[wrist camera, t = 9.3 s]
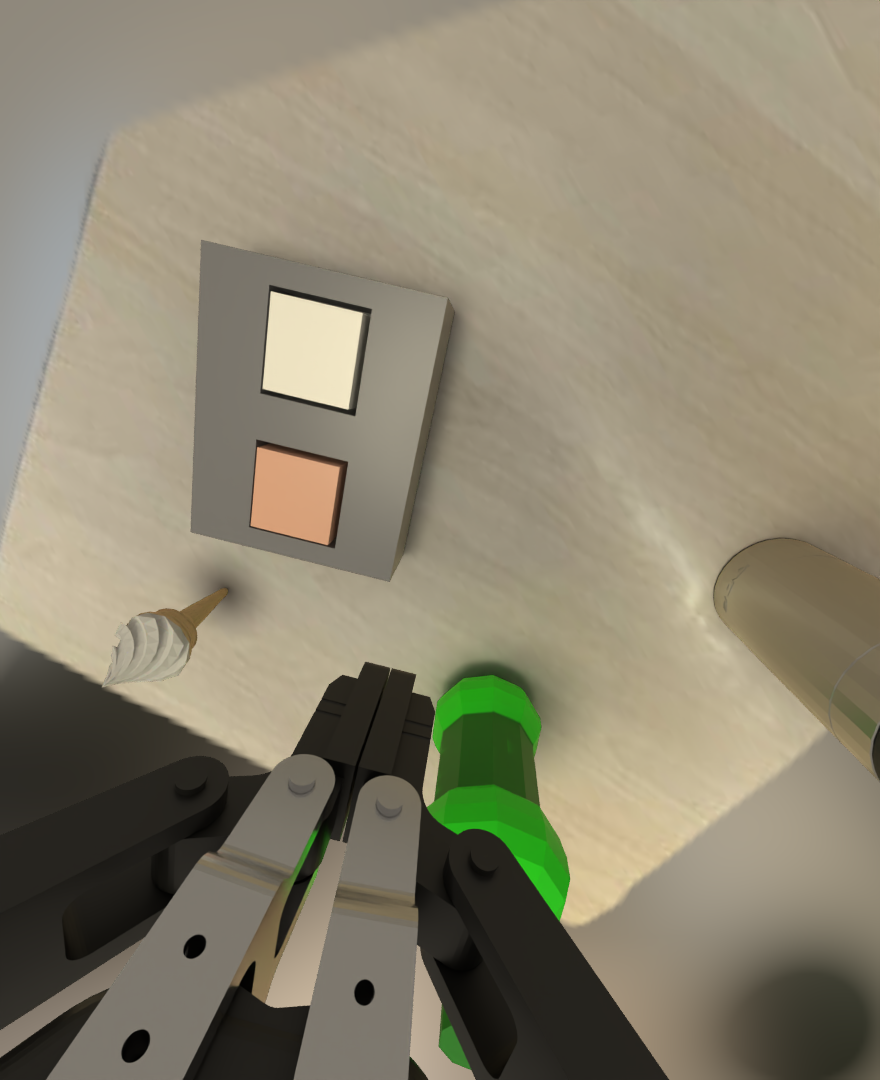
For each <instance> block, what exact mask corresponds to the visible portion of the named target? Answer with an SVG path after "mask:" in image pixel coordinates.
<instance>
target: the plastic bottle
mask: <svg viewBox="0 0 880 1080" xmlns="http://www.w3.org/2000/svg"><path fill="white" fill-rule="evenodd" d="M540 731H541V721H540V717H539V716H538V714H537V712H536V710H535V709H534V707H533V705H532V704H531V702H530V700H529V699H528V697H527V695H526V693H525V692H524V691H523V690H522V688H521V687H519V686H517V685H514V684H512V683H510V682H508V681H505V680H503V679H501V678H499V677H497V676H494V675H488V676H479V677H470V678H463V679H462V680H461V681H459V682H458V683H457V684H456V685H455V686H454V687H452V688H451V689H450V690H449V691H448V692H447V693H445V694H444V695H443V696H442V697H441V698H440V699H439V700H438V702H437V707H436V714H435V722H434V729H433V740H434V743H435V746H436V748H437V749H438V751H439V753H440V761H439V768H438V776H437V783H436V791H435V799H434V802H433V803H432V804H431V805H429V806H428V807H427V809H428V811H429V812H430V814H431V815H432V816H433V817H434V818H435V819H436V820H437V821H438V822H439V823H441V824H442V825H443V826H445V827H446V828H448V829H450V830H451V831H453V832H454V833H456V834H459V833H461V832H463V831H465V830H468V829H482V830H486V831H488V832H491V833H492V834H494V835H496V836H497V837H499V838H500V839H501V840H502V841H503V842H504V843H505V844H506V845H507V847H508V848H509V849H510V851H511V852H512V854H513V855H514V857H515V858H516V859H517V861H518V862H519V864H520V865H521V867H522V868H523V870H524V871H525V872H526V874H527V875H528V877H529V878H530V880H531V881H532V883H533V884H534V885H535V887H536V888H537V890H538V891H539V893H540V894H541V896H542V897H543V898H544V900H545V901H546V903H547V904H548V906H549V907H550V909H551V910H552V911H553V913H554V914H555V916H556V917H557V919H558V920H559V921H560V918H561V915H562V911H563V908H564V905H565V901H566V897H567V892H568V887H569V882H570V874H569V868H568V862H567V857H566V854H565V852H564V849H563V847H562V844H561V841H560V839H559V837H558V835H557V834H556V832H555V831H554V829H553V828H552V826H551V824H550V823H549V821H548V820H547V818H546V816H545V815H544V813H543V812H542V810H541V808H540V803H539V795H538V787H537V778H536V770H535V762H534V756H535V753H536V749H537V744H538V740H539V736H540ZM439 1037H440V1038H439V1047H440V1048H441V1050H442V1051H443V1052H444V1053H445V1055H446V1056H447V1057H448V1058H449V1059H450V1060H451V1061H452V1062H453V1063H455V1064H458V1065H460V1066H462V1067H465V1068H468V1069H470V1070H471V1068H470V1066H469V1063H468V1061H467V1059H466V1057H465V1054H464V1052H463V1050H462V1048H461V1045H460V1043H459V1041H458V1039H457V1036H456V1034H455V1032H454V1030H453V1027H452V1025H451V1023H450V1021H449V1018H448V1016H447V1014H446V1012H445V1009H444V1007H443V1005H442V1010H441V1024H440V1036H439Z"/></svg>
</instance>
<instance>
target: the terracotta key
mask: <svg viewBox="0 0 880 1080" xmlns="http://www.w3.org/2000/svg"><path fill="white" fill-rule="evenodd" d="M347 467H348V462H347V461H343V460H339V459H335V458H331V457H327V456H323V455H319V454H315V453H310V452H306V451H302V450H298V449H294V448H290V447H286V446H282V445H278V444H274V443H271V444H267V445H263V446H260V447H257V457H256V469H255V481H254V493H253V504H252V516H251V526H253V527H257V528H261V529H265V530H269V531H273V532H277V533H281V534H285V535H289V536H293V537H297V538H301V539H305V540H309V541H313V542H317V543H321V544H325V545H329V544H330V543H331V542H332V541H333V540H334V539H335V538H336V537H337V532H338V525H339V519H340V513H341V506H342V500H343V493H344V487H345V480H346V474H347Z"/></svg>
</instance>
